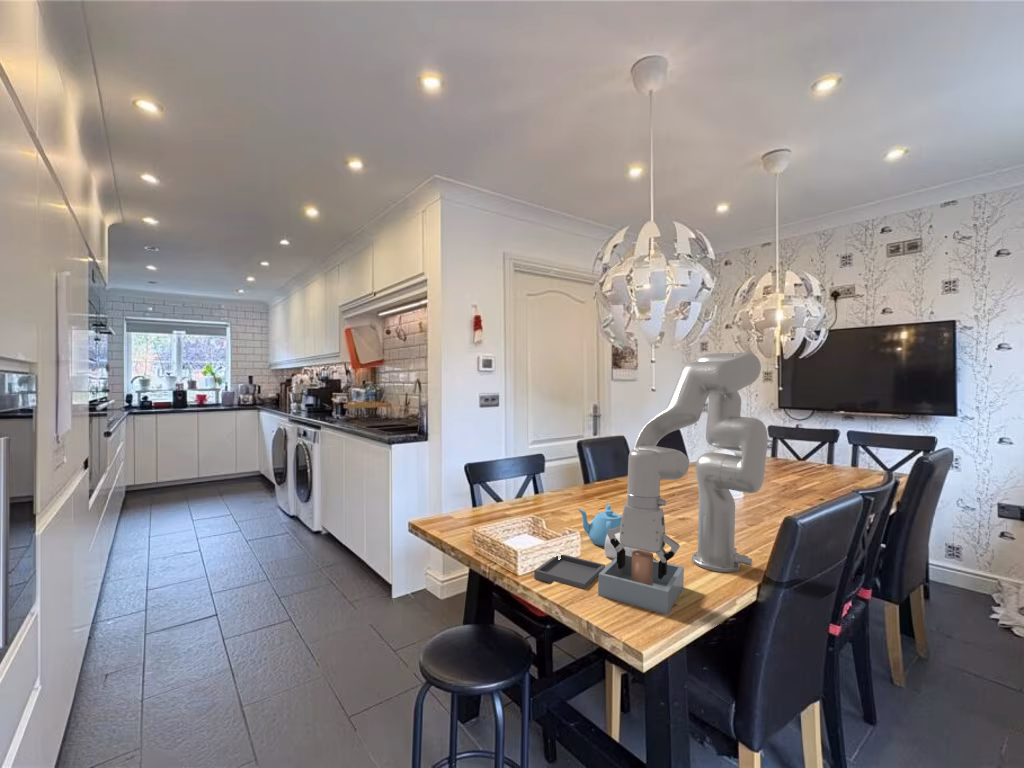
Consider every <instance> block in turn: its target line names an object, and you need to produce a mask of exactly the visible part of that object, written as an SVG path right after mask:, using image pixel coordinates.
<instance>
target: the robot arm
mask: <svg viewBox="0 0 1024 768" xmlns="http://www.w3.org/2000/svg"><path fill="white" fill-rule="evenodd" d="M761 369H762V366H761V361H760V359H759V357H758V356H757V355H755V354H754V353H752V352H722V353H721V352H720V353H719V352H717V353H707V354H703V355H701V356H700V357H698V358H697V359H696V361H693V362H688V363H687V364H686V365H685V366H684V367H683V368H682V370H681V371H680V373H679V377H678V379H677V381H676V384H675V386H674V388H673V392H672V393H671V397H670V399H669V401H668V403H667V406H666V407H665V409H664V410H662V411H660V412H659V413H658V414H656V415H655V416H653V418H651V419H650V420H649V421H648V422H647V423H646V424H645V425H644V426H643V427H642V429H641V430H640V431H639V434H638V436H637V438H636V441H635V442H634V445H633V448H632V450H631V451H629V454H628V462H627V463H628V464H627V493H626V497H627V498H626V503H624V506H623V509H622V510H623V511H622V514H621V517H622V520H621V526H620V527H617V528H613V529H610V530H609V531H607V534H608V537H609V539H610V542H611V544H612V545H613V546H614V548H615V551H616V552H617V564H618V569H622V568H623V567H624V566H625V549H624V547H625V546H627V547H631V548H635V549H639V550H644V551H648V552H651V553H652V554H653V553H655V554H656V555H657V557H658V558H659V560H658V561H659V563H658V578H659V579H662V578H663V576H664V575H666V573H667V563H668V561H669V560H670V559H672V558H673V557H674V556H675V555H676V554H677V551H678V550H679V548H680V546H681V545H680V544H679V543H678V542H676V541H675V540H674V539H673V538H671V537H670V536H668V535H667V534H666V522H665V513H664V509H663V507H661V506H664V507H665V506H666V499H663V498H662V497H661V495H660V494H661V493H660V491H661V480H668V481H669V480H671V481H674V480H676V481H677V480H679V479H682V478H684V476H685V475H686V474H687V473H688V470H689V467H690V462H689V459H688V456H687V455H686V454H685V453H683V452H682V451H680V450H677V449H675V448H668V447H662V446H657V445H658V443H659V442H660V440H662V438H664V437H665V436H667V435H668V434H670V433H672V432H674V431H678V430H680V429H684V428H686V427H689V426H692V425H694V424H697V422H699V420H700V418H701V415H702V413H703V410H704V407H705V405H706V403H707V400H708V409H707V410H708V411H707V418H706V427H705V440H706V443H707V444H708V445H709V446H711V447H713V448H716V449H723V450H730V451H738V452H741V456H740V455H735V454H728V453H721V452H715V451H714V452H706V453H703V454H701V455H699V457H697V460H696V462H695V475H696V479H697V486H698V488H697V489H698V519H697V520H698V522H697V523H698V527H697V528H698V529H697V531H698V533H697V552H694V553H693V554H692V555H691V560H692V563H694V564H695V565H697V566H699V568H703V569H705V570H709V571H713V572H719V573H720V572H721V573H732V572H733V573H734V572H737V571H739V570H740V569H741V565H742V564H743V565H745V566H750V567H752V566H753V558H750V557H749V556H748V555H745V554H739V552H737V551H738V550H737V548H736V547H735V537H736V536H735V533H736V530H735V529H736V502H735V499H734V496H733V494H732V493H731V491H733V492H734V491H735V492H740V493H744V494H745V493H747V494H754V493H757V492H758V491H760V490H761V488H762V487H763V483H764V479H765V470H766V462H767V452H768V451H767V450H768V440H769V439H768V429H767V427H766V425H765V423H764V422H763V421H762V420H760V419H758V418H755V417H748V416H741V413H742V412H741V411H742V398H741V396H740V393H739V392H738V391H741V390H742V389H744V388H746V387H748V386H751V385H752V384H753V383H755V382H756V381H757V380H758V378H759V377H760V374H761ZM617 533H620V542H621V543H619V541H618V540H617V539H616V538H615V534H617ZM666 544H667V545H668V546H669V547H670V551H668V552H666V550H665V549H664V548H665V546H666Z"/></svg>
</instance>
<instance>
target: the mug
mask: <svg viewBox="0 0 1024 768" xmlns="http://www.w3.org/2000/svg"><path fill="white" fill-rule="evenodd" d="M615 538H616V539H617V540H618V541H619V543H621V542H620V533H617V534H615ZM624 549H625V554H629V555H632V552H633V551H635V550H639V549H635V548H631V547H627V546H625V547H624ZM604 555H605V557H606V558H607V559H613V560H614V559H615V558H616V557H617V552H616V551H615V548H614V546H613V545H612V544H611V542H610V539H609V537H608V534H607V537H606V540H605V547H604Z"/></svg>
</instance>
